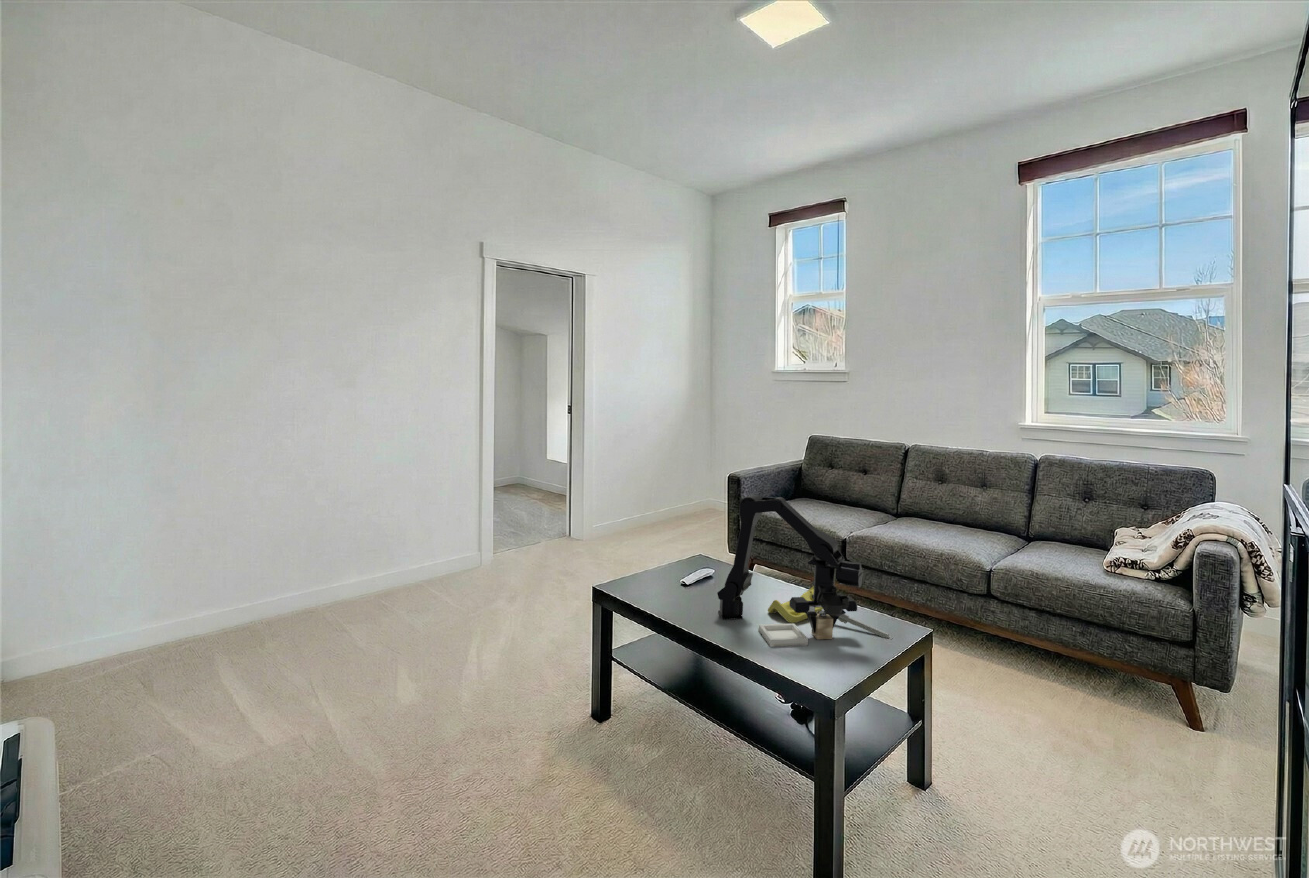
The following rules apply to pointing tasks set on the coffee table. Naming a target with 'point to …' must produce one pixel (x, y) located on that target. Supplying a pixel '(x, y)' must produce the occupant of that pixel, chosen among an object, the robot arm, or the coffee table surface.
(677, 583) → the coffee table surface
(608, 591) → the coffee table surface
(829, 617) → the block
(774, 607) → the plastic component
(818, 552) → the robot arm
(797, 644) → the housing tray
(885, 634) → the caliper
